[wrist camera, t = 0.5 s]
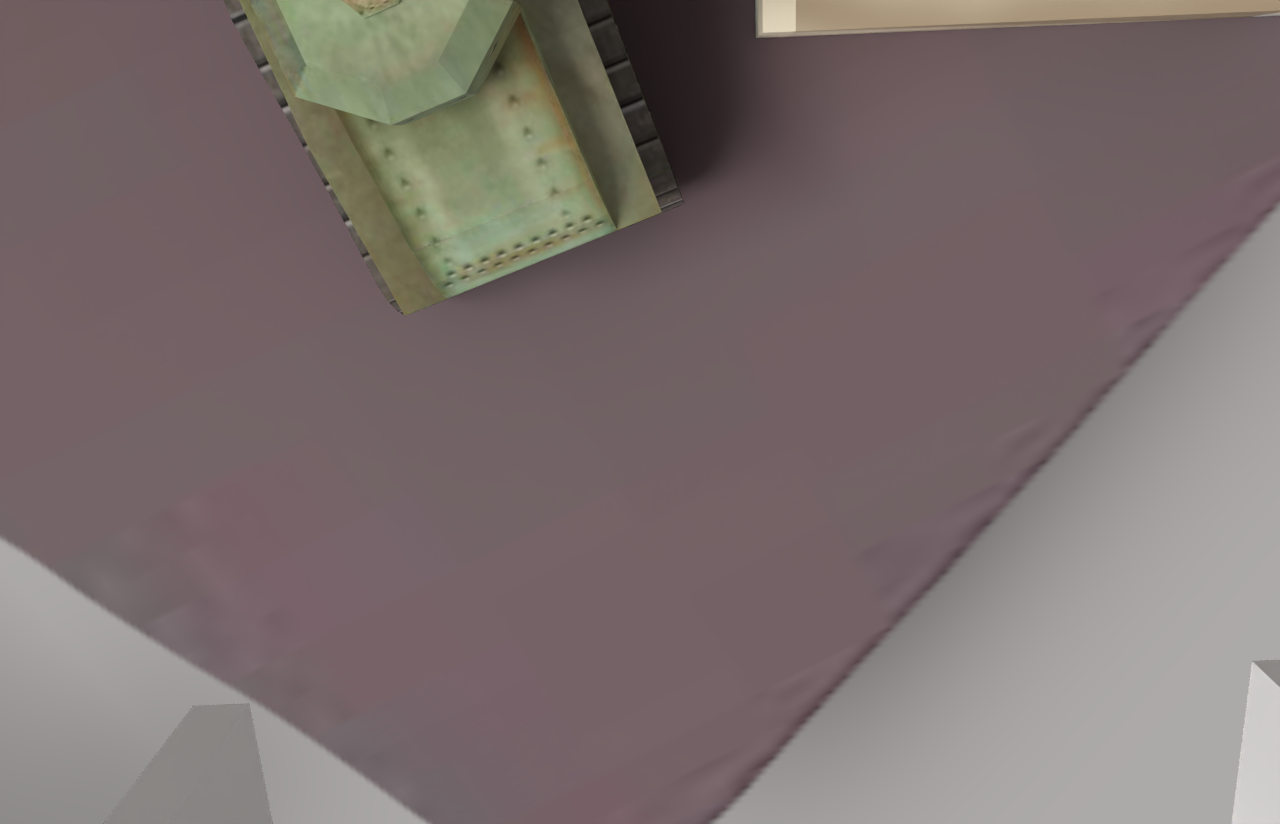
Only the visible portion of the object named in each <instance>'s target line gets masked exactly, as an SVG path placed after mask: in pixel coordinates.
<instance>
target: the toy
mask: <svg viewBox="0 0 1280 824" xmlns="http://www.w3.org/2000/svg"><path fill="white" fill-rule="evenodd" d="M224 2H225V5H226V7H227V9H228V12H229V14H230V17H231V19H232V21H233V23H234V25H235V27H236V29H237V30H238V32H239V34H240V36H241V37H242V39H243V41H244V43H245V45H246V46H247V48H248V50H249V52H250V54H251V55H252V57H253V59H254V61H255V62H256V64H257V66H258V68H259V70H260V71H261V73H262V75H263V77H264V79H265V80H266V82H267V84H268V86H269V87H270V89H271V91H272V93H273V94H274V96H275V98H276V100H277V101H278V103H279V105H280V107H281V108H282V110H283V112H284V113H285V115H286V117H287V119H288V120H289V122H290V124H291V125H292V127H293V129H294V131H295V133H296V134H297V136H298V138H299V140H300V142H301V143H302V145H303V147H304V149H305V151H306V153H307V154H308V156H309V158H310V160H311V162H312V163H313V165H314V167H315V169H316V171H317V172H318V174H319V176H320V178H321V180H322V181H323V183H324V185H325V187H326V189H327V191H328V192H329V194H330V196H331V198H332V200H333V201H334V203H335V205H336V207H337V209H338V211H339V213H340V215H341V217H342V219H343V221H344V222H345V224H346V226H347V228H348V230H349V232H350V234H351V236H352V238H353V240H354V242H355V243H356V245H357V247H358V249H359V251H360V253H361V255H362V257H363V259H364V261H365V262H366V264H367V266H368V268H369V270H370V272H371V274H372V276H373V278H374V280H375V282H376V283H377V285H378V287H379V289H380V290H381V292H382V293H383V295H384V296H385V298H386V299H387V301H388V302H389V303H390V304H391V305H392V306H393V307H394V308H395V309H396V310H397V311H398V312H400V313H401V314H403V315H408V314H411V313H414V312H416V311H419V310H421V309H423V308H426V307H428V306H431V305H433V304H436V303H438V302H441V301H443V300H446V299H448V298H451V297H453V296H456V295H458V294H461V293H463V292H466V291H467V290H470V289H472V288H475V287H477V286H480V285H482V284H485V283H487V282H490V281H492V280H495V279H497V278H500V277H502V276H505V275H507V274H510V273H512V272H515V271H517V270H520V269H522V268H525V267H527V266H530V265H532V264H535V263H537V262H540V261H542V260H545V259H547V258H550V257H552V256H554V255H557V254H559V253H562V252H564V251H567V250H569V249H572V248H574V247H577V246H579V245H582V244H584V243H587V242H589V241H592V240H594V239H597V238H599V237H602V236H604V235H607V234H609V233H612V232H614V231H617V230H619V229H622V228H625V227H627V226H630V225H632V224H635V223H637V222H640V221H642V220H645V219H647V218H650V217H652V216H655V215H657V214H660V213H662V212H665V211H667V210H670V209H672V208H675V207H677V206H680V205H682V204H684V201H683V198H682V195H681V193H680V190H679V187H678V184H677V182H676V179H675V176H674V174H673V171H672V168H671V166H670V163H669V161H668V158H667V155H666V153H665V150H664V147H663V145H662V142H661V140H660V137H659V134H658V132H657V129H656V126H655V124H654V121H653V119H652V116H651V113H650V111H649V108H648V105H647V103H646V100H645V98H644V95H643V92H642V90H641V87H640V84H639V82H638V79H637V77H636V74H635V71H634V69H633V66H632V63H631V61H630V58H629V56H628V53H627V50H626V48H625V45H624V42H623V40H622V37H621V35H620V32H619V29H618V27H617V24H616V21H615V19H614V16H613V14H612V11H611V8H610V6H609V3H608V0H224Z"/></svg>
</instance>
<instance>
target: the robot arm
mask: <svg viewBox="0 0 1280 824" xmlns="http://www.w3.org/2000/svg"><path fill="white" fill-rule="evenodd" d="M103 824H273V822H272V817H271V811H270V806H269V801H268V796H267V791H266V786H265V781H264V775H263V770H262V765H261V760H260V755H259V750H258V745H257V740H256V735H255V729H254V724H253V719H252V714H251V709H250V704H227V705H203V706H193V707H192V708H191V709H190V711H189V712H188V713H187V715H186V716H185V717H184V718H183V720H182V721H181V722H180V724H179V725H178V726H177V728H176V729H175V730H174V731H173V733H172V734H171V736H170V737H169V738H168V739H167V741H166V742H165V743H164V745H163V746H162V747H161V749H160V750H159V751H158V752H157V754H156V755H155V756H154V758H153V759H152V761H151V762H150V763H149V764H148V766H147V767H146V768H145V770H144V771H143V772H142V773H141V775H140V776H139V777H138V779H137V780H136V781H135V783H134V784H133V785H132V786H131V788H130V789H129V790H128V792H127V793H126V794H125V796H124V797H123V798H122V800H121V801H120V802H119V803H118V805H117V806H116V807H115V809H114V810H113V811H112V813H111V814H110V815H109V817H108V818H107V820H105V822H104V823H103ZM1232 824H1280V660H1265V661H1252V667H1251V675H1250V683H1249V691H1248V698H1247V706H1246V715H1245V722H1244V730H1243V738H1242V746H1241V754H1240V761H1239V770H1238V777H1237V785H1236V793H1235V801H1234V809H1233V818H1232Z"/></svg>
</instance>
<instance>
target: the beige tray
mask: <svg viewBox="0 0 1280 824" xmlns="http://www.w3.org/2000/svg"><path fill="white" fill-rule="evenodd" d="M1260 16H1280V0H755V24H756V38H770V37H794V36H817V35H840V34H864V33H887V32H910V31H934V30H957V29H980V28H1003V27H1027V26H1050V25H1073V24H1097V23H1120V22H1143V21H1167V20H1190V19H1213V18H1236V17H1260Z"/></svg>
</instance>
